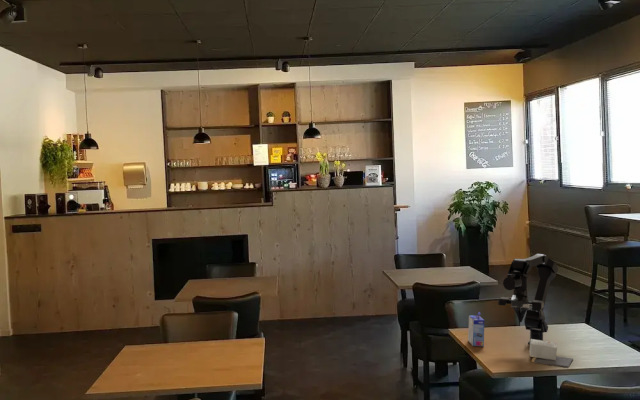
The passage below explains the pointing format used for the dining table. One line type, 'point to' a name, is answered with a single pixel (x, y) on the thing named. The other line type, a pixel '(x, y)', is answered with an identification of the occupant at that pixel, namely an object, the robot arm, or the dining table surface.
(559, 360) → the mat
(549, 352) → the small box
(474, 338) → the ink cartridge box
